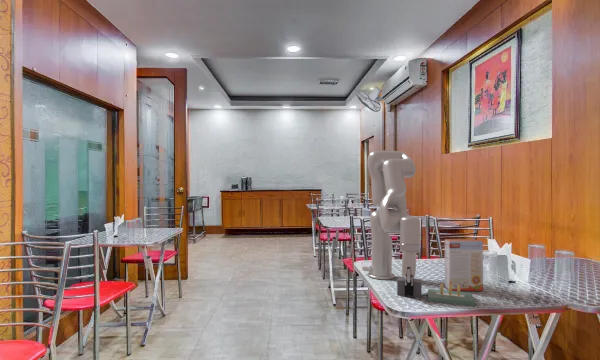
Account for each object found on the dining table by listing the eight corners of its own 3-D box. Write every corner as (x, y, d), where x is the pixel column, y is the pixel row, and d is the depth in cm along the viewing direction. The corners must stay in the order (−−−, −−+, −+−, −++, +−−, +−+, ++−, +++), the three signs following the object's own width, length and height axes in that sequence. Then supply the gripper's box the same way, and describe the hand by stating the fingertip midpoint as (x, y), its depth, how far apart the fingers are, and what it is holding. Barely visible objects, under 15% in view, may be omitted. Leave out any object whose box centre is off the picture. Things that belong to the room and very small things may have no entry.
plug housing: (397, 295, 144) (397, 280, 144) (398, 292, 148) (398, 277, 149) (421, 298, 141) (421, 282, 141) (421, 294, 145) (421, 279, 146)
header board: (428, 300, 137) (428, 286, 137) (428, 292, 148) (428, 278, 148) (475, 306, 132) (475, 290, 132) (471, 296, 143) (471, 282, 143)
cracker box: (476, 287, 157) (476, 238, 157) (483, 291, 151) (483, 240, 151) (443, 287, 157) (444, 238, 157) (449, 291, 151) (449, 240, 151)
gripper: (401, 244, 154) (401, 286, 154) (398, 250, 138) (397, 298, 138) (420, 245, 152) (419, 288, 152) (419, 252, 136) (418, 300, 135)
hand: (409, 292), depth 145 cm, fingers open, 6 cm apart
